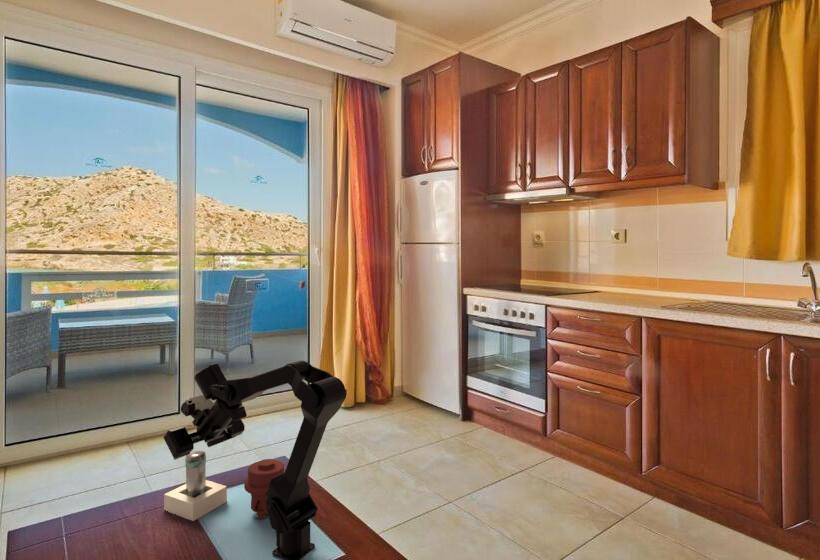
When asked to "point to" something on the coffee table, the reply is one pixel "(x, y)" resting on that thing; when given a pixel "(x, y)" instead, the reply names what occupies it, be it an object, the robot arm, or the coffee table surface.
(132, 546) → the coffee table surface
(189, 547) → the coffee table surface
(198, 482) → the cylinder
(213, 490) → the docking block
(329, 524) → the coffee table surface
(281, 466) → the mechanical component
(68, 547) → the coffee table surface
